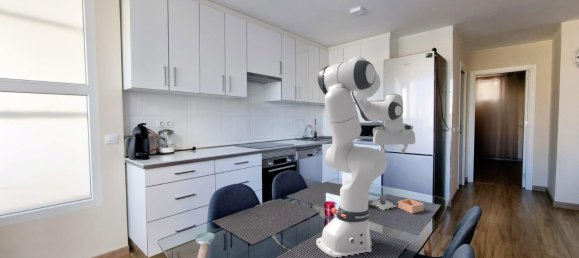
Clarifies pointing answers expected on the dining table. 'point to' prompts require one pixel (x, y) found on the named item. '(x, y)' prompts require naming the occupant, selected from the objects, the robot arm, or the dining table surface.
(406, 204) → the orange open box
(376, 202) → the lid
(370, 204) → the mat
